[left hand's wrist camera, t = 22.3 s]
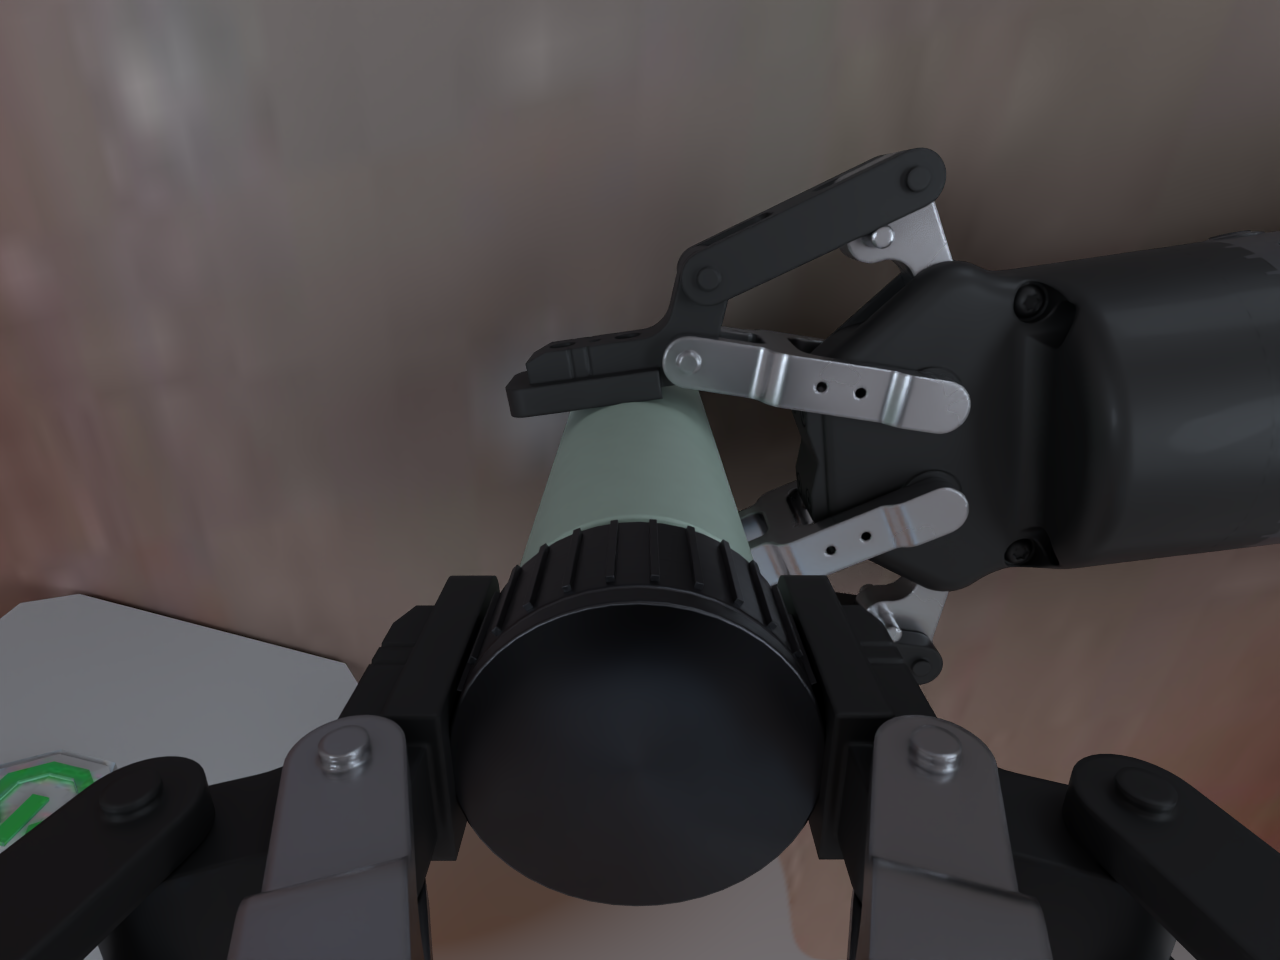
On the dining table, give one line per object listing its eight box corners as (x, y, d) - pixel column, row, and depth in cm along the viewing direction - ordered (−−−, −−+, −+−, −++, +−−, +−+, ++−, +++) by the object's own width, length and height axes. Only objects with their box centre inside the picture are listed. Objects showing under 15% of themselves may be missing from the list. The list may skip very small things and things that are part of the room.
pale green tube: (646, 317, 24) (661, 516, 9) (725, 414, 25) (859, 740, 10) (549, 398, 25) (410, 705, 10) (629, 488, 26) (617, 888, 11)
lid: (820, 752, 12) (860, 874, 10) (533, 810, 12) (511, 938, 10) (763, 480, 10) (796, 553, 8) (434, 557, 10) (381, 647, 8)
